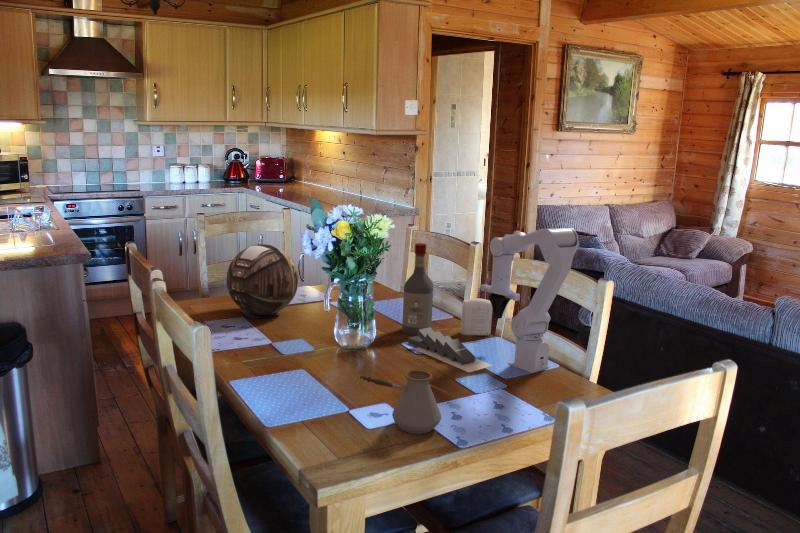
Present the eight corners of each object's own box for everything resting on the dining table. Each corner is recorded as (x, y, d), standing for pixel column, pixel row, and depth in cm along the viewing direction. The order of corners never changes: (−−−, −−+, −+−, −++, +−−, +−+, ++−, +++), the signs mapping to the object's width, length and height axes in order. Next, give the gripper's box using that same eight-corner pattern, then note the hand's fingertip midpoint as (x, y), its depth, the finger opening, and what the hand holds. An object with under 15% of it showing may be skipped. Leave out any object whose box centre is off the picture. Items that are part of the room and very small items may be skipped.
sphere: (312, 312, 254) (313, 244, 249) (264, 328, 233) (264, 255, 228) (261, 300, 267) (261, 236, 261) (211, 315, 246) (210, 245, 241)
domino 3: (456, 349, 213) (439, 330, 219) (444, 352, 210) (427, 333, 216) (454, 353, 214) (437, 334, 220) (442, 356, 211) (425, 337, 216)
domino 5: (476, 357, 207) (457, 338, 212) (464, 360, 204) (445, 341, 209) (474, 361, 208) (455, 342, 213) (462, 365, 205) (443, 345, 210)
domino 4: (466, 353, 210) (448, 335, 216) (454, 357, 207) (436, 338, 212) (464, 358, 211) (446, 339, 216) (452, 361, 208) (434, 342, 213)
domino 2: (447, 345, 217) (430, 327, 222) (435, 348, 213) (418, 329, 219) (445, 349, 217) (428, 330, 223) (433, 352, 214) (416, 333, 220)
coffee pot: (424, 413, 172) (426, 355, 168) (450, 431, 162) (453, 370, 159) (345, 429, 161) (346, 367, 158) (368, 450, 151) (370, 385, 148)
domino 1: (438, 342, 219) (420, 335, 226) (427, 345, 216) (408, 337, 223) (438, 347, 220) (419, 339, 226) (426, 350, 216) (408, 342, 223)
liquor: (428, 336, 231) (432, 247, 224) (401, 334, 232) (404, 245, 226) (431, 328, 240) (436, 242, 233) (405, 326, 241) (409, 241, 235)
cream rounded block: (488, 332, 238) (491, 297, 236) (492, 336, 234) (494, 300, 232) (459, 332, 237) (461, 297, 234) (462, 336, 233) (464, 300, 230)
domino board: (493, 366, 206) (493, 365, 205) (469, 373, 199) (469, 372, 199) (438, 344, 224) (438, 343, 223) (414, 350, 217) (414, 349, 217)
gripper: (527, 278, 213) (524, 321, 215) (492, 269, 223) (490, 310, 226) (512, 281, 208) (508, 325, 211) (477, 272, 219) (474, 313, 222)
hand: (498, 317), depth 218 cm, fingers closed
